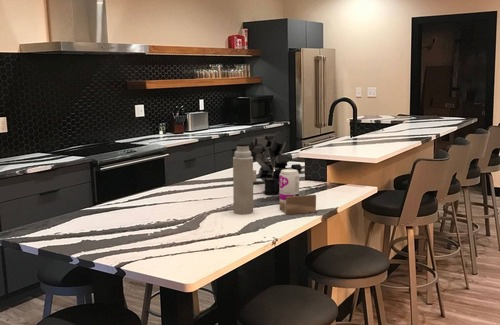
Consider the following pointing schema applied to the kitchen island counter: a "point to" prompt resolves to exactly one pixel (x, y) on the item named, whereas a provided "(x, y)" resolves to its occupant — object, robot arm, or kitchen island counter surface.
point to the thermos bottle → (243, 180)
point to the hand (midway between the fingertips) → (284, 187)
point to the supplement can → (289, 183)
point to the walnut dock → (299, 204)
